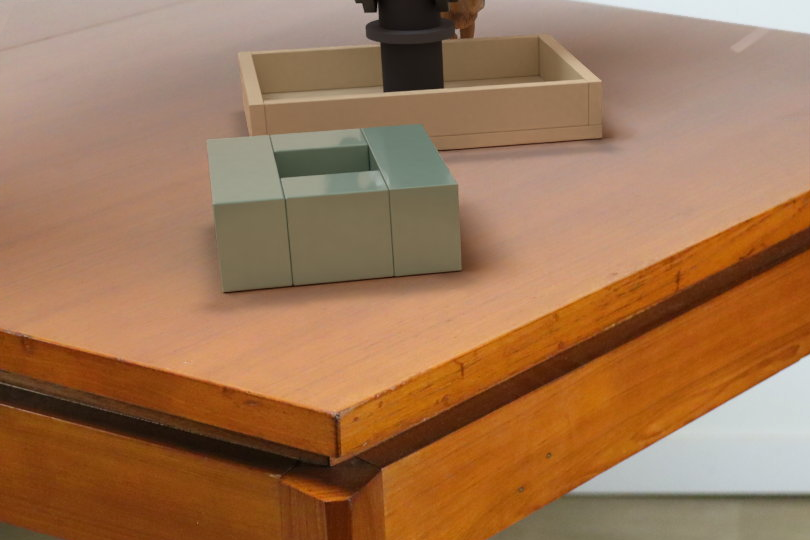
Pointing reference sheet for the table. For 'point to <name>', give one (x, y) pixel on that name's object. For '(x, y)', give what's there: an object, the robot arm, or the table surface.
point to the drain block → (332, 207)
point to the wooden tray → (428, 93)
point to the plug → (410, 44)
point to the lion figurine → (464, 16)
